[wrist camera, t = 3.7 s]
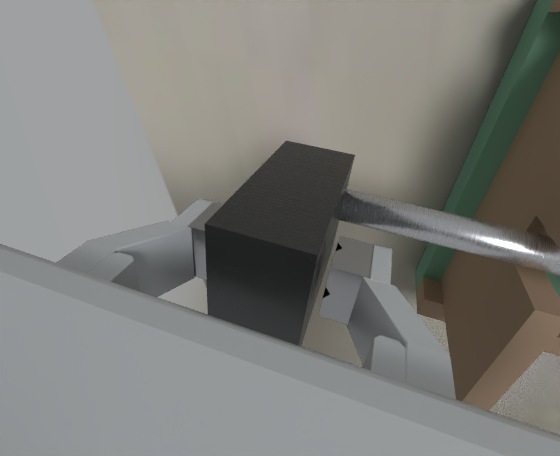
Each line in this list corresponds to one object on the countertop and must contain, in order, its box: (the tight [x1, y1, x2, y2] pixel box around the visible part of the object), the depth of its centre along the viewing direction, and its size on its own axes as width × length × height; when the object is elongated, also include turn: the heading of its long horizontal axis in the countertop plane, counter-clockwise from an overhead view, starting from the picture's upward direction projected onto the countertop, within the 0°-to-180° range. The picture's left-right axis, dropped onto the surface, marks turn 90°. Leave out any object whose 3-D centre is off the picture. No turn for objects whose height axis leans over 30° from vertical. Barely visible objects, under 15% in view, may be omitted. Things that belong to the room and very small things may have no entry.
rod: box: [204, 141, 560, 346], centre depth 11 cm, size 17×4×11 cm, turn 84°
